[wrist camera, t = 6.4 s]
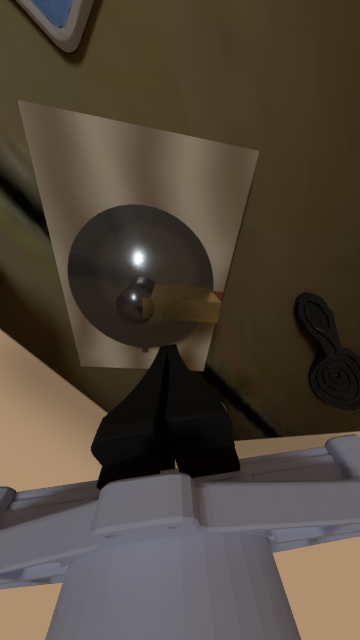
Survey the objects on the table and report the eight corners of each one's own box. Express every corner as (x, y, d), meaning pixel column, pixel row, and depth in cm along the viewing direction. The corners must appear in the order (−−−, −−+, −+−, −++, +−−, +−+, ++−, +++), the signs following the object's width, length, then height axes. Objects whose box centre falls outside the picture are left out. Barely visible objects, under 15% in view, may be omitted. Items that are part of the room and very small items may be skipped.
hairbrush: (359, 274, 15) (394, 402, 23) (326, 270, 18) (367, 383, 27) (280, 322, 17) (338, 423, 26) (263, 310, 20) (320, 403, 29)
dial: (88, 340, 17) (59, 374, 13) (56, 196, 11) (-18, 166, 7) (200, 344, 18) (209, 377, 14) (224, 217, 12) (254, 203, 8)
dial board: (86, 358, 20) (79, 367, 19) (36, 117, 11) (12, 95, 9) (201, 363, 22) (203, 372, 21) (249, 161, 12) (261, 148, 11)
